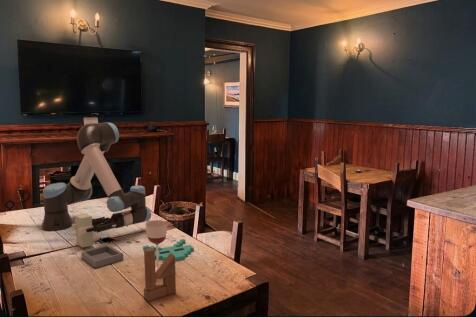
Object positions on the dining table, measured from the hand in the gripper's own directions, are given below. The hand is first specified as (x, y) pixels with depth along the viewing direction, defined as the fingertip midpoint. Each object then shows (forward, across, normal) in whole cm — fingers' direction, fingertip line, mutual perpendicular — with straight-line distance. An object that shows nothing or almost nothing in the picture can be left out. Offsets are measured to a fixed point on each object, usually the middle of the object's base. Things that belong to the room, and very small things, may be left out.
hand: (75, 229), depth 179 cm
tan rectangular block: (-4, 0, -8) cm, 9 cm away
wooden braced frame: (-4, -65, -9) cm, 66 cm away
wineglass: (-15, -47, -9) cm, 50 cm away
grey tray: (-3, -20, -9) cm, 22 cm away
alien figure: (-29, -35, -10) cm, 46 cm away
